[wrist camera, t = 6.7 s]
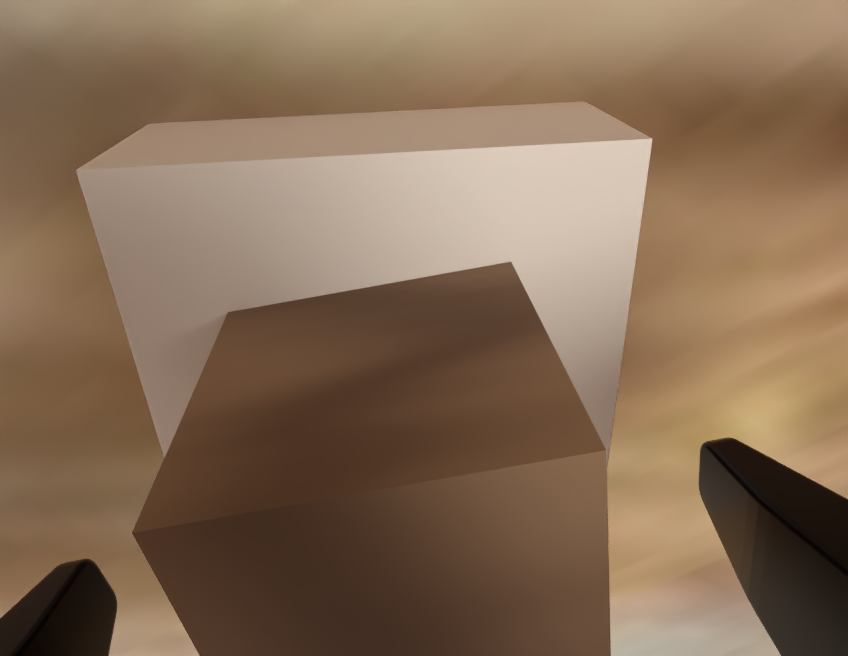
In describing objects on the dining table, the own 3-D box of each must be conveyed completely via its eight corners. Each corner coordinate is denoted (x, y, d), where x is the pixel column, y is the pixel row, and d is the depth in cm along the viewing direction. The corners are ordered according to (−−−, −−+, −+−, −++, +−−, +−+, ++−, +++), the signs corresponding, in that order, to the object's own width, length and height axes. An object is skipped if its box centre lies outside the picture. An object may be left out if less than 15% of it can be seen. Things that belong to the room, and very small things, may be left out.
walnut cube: (511, 261, 11) (606, 449, 6) (532, 476, 13) (612, 718, 9) (227, 311, 11) (132, 532, 7) (301, 516, 13) (266, 777, 9)
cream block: (579, 98, 13) (652, 138, 10) (552, 430, 18) (597, 538, 14) (154, 119, 13) (75, 170, 10) (233, 454, 17) (199, 573, 14)
